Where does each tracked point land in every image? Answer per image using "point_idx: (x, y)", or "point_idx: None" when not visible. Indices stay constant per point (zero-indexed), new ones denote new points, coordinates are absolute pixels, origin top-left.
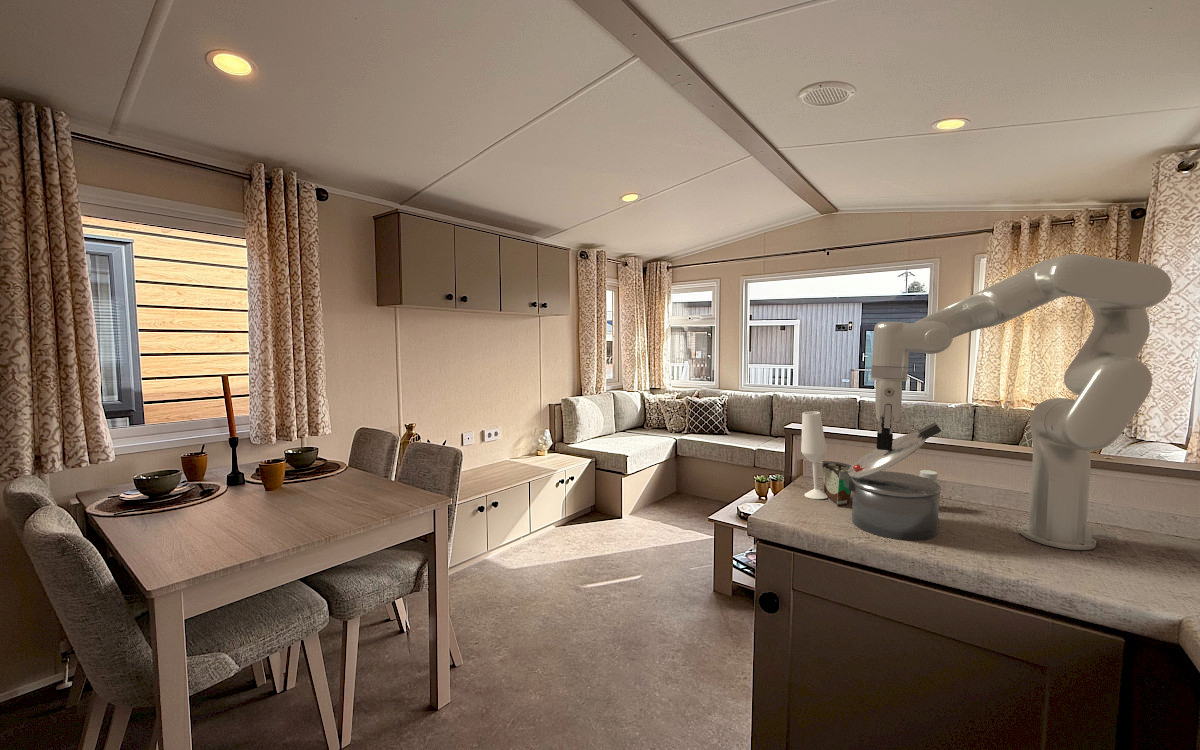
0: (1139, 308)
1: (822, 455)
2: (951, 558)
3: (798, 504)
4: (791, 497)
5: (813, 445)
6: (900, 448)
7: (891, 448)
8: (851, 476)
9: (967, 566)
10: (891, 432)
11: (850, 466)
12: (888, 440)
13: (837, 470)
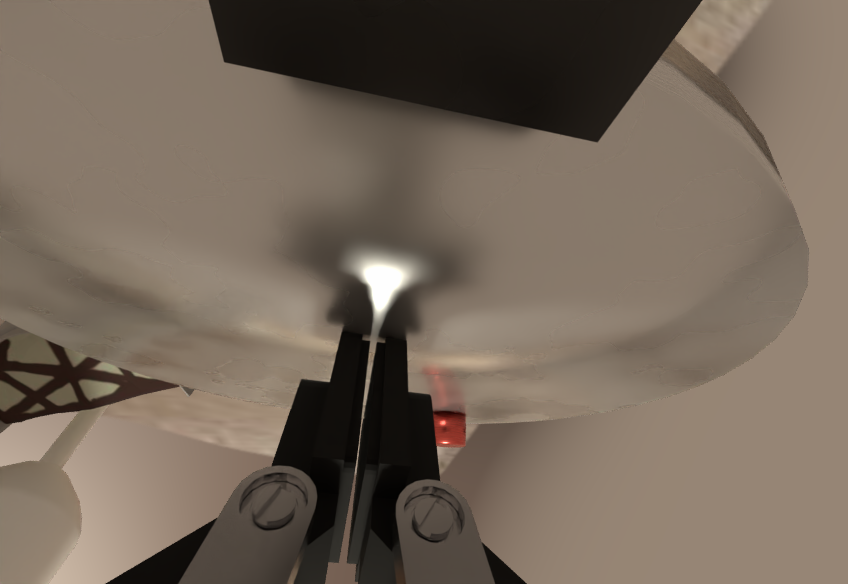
0: None
1: (44, 486)
2: (684, 38)
3: (263, 405)
4: (196, 418)
5: (39, 577)
6: (550, 325)
7: (405, 350)
8: None
9: (750, 5)
10: (473, 522)
11: (21, 333)
12: (435, 442)
13: (120, 386)
